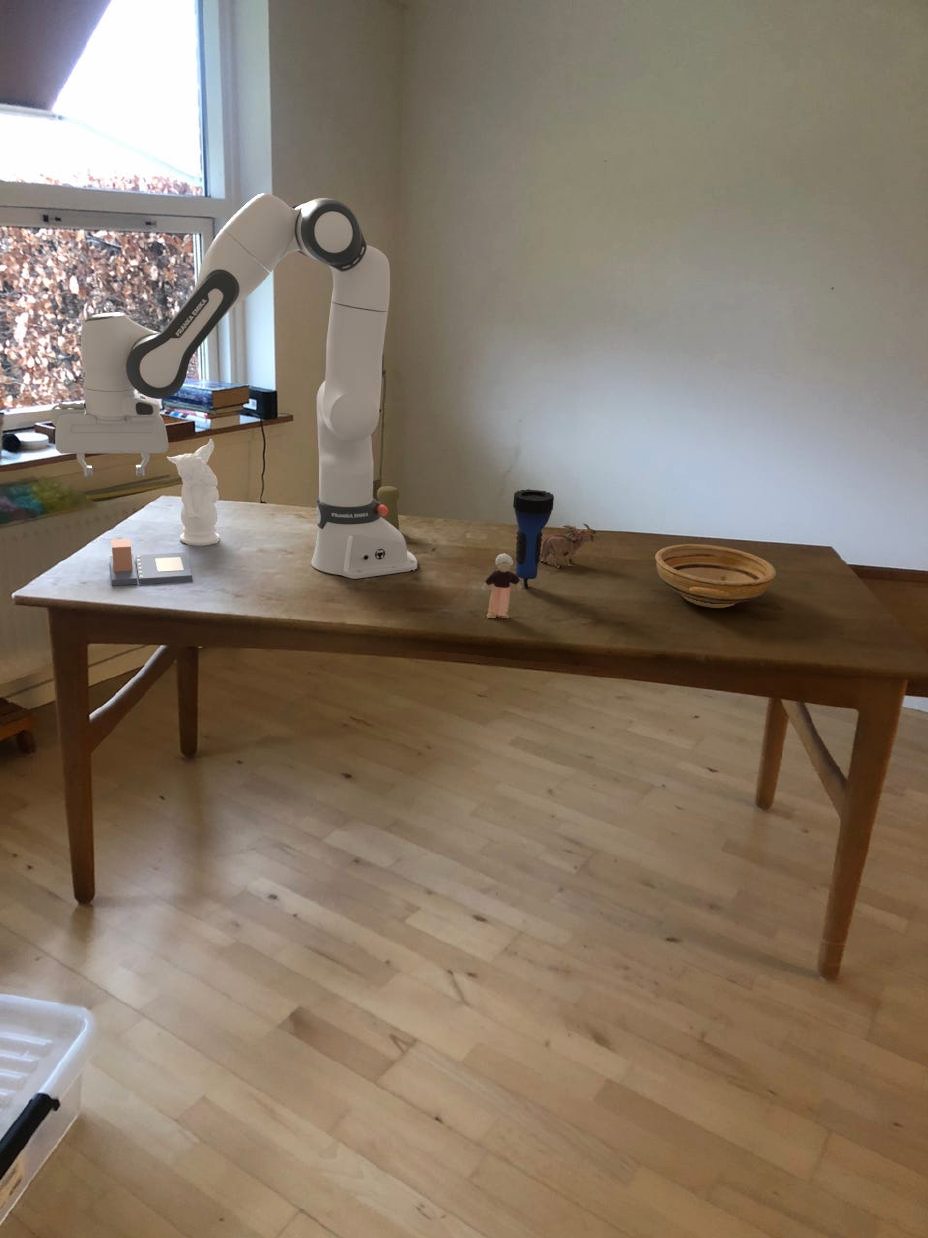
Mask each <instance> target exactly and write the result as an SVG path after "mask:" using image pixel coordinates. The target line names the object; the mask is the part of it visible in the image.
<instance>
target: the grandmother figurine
mask: <svg viewBox="0 0 928 1238" xmlns="http://www.w3.org/2000/svg"><path fill="white" fill-rule="evenodd" d="M513 564H514V560H513V559H512V556H510V554H507V553H501V554H500V553H499V554H498V555H497V557H496V558H495V565H496V568H497V570H495V571H493V572H492V573H491V574H490V575H489V576H488V577H487V578H486V579H485V581H484V583H483V586H481V589H480V590H481V591H482V592H487V589H488V588H489V587H490V586H491V585H492V588H491V592H490V597H489V603H488V610H487V611H488V613H487V615H486V616H487V617H488V618H496V617H499V618H500V617H501V618H508V617H509V618H510V615H509V614H508V611H509V606H510V605H509V604H510V599H511V598H510V597H511V584H513V585H515V587H516V590H518V591H520V590H522V585H521V582H520V580H521V578H519V577H517V575H516V573H514V572H511V571H510V569H511V567H512V566H513ZM488 618H487V619H488ZM501 618H500V619H501ZM509 618H508V619H509ZM496 619H497V618H496Z"/></svg>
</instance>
